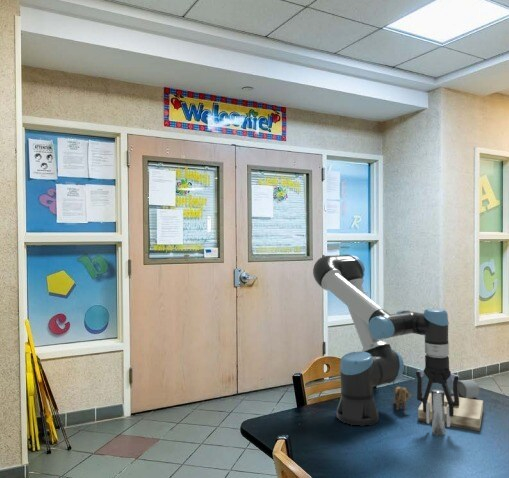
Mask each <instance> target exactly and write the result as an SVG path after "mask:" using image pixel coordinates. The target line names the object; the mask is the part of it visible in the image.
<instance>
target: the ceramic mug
mask: <svg viewBox="0 0 509 478" xmlns="http://www.w3.org/2000/svg"><path fill="white" fill-rule="evenodd" d="M458 391H459V397H461V398H468V399H475V398H477V397H479V395H480V393H481V391H480V386H479V384H478V383H477V382H476V381H474V380H473V379H465V380H464V379H461V380H459V379H458ZM450 394H451V395H454V390H453V384H452V385H451V390H450Z"/></svg>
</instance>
